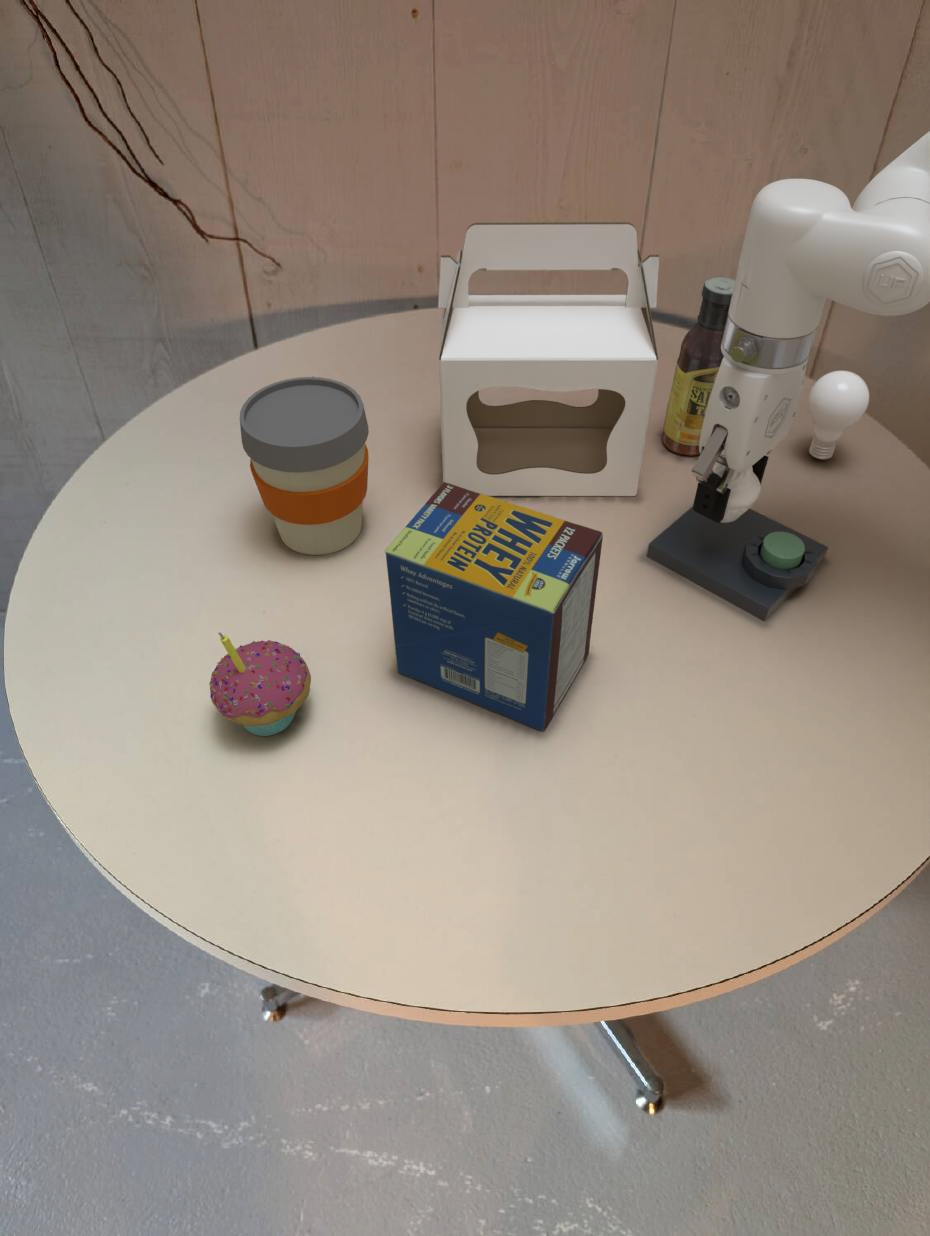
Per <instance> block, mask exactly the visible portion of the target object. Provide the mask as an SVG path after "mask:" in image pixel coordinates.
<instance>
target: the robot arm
mask: <svg viewBox="0 0 930 1236" xmlns="http://www.w3.org/2000/svg"><path fill="white" fill-rule="evenodd" d="M734 280H735V284H734V289H733V293H732V297H731V302H730V307H729V311H728V316H727V320H726V325H725V329H724V334H723V339H722V343H721V351H722V353H723V355H724V358H723V359H722V362H721V365H720V368H719V371H718V374H717V377H716V380H715V383H714V386H713V389H712V392H711V396H710V399H709V403H708V406H707V410H706V413H705V417H704V421H703V426H702V430H701V435H700V442H699V451H700V455H698V456H699V457H698V458H697V459H696V462H695V463H694V465H693V466H692V469H691V471H690V473H691V475H693V476H694V477H695V479H696V482H697V486H696V490H695V495H694V500H693V504H692V507H693V510H694V511H695V512H697V513H699V514H701V515H703V516H705V517H707V518H709V519H711V520H712V521H714V522H716V523H720V522H721V521H722V520H723V518H724V514H725V511H726V507H727V503H728V499H729V495H730V491H731V489H729V488H727V487H728V485H729V483H730V480H731V478H732V476H733V473H734V471H736V472H742V471H745V470H747V469H748V468H750V467H751V466H752V468H753V472H754V474H755V475H756V476H757V478H758V479H759V482H760V485H761V486H762V482H763V479H764V478H763V477H764V475H765V471H766V468H767V465H768V461H769V456H768V455H769V454H770V453H771V452H772V450H773V449H774V448H775V447H776V446H777V445H778V444H779V443H780V442H782V441H783V440H784V439H785V438H786V437H787V436H788V434H789V433H790V431H791V430H792V428H793V424H794V421H795V417H796V414H797V409H798V405H799V401H800V398H801V394H802V390H803V385H804V382H805V381H804V380H805V376H806V370H807V365H808V361H809V358H810V356H811V351H812V348H813V345H814V341H815V338H816V335H817V332H818V328H819V325H820V321H821V318H822V314H823V312H824V309H825V305H826V301H827V300H829V301H833V302H835V303H839V304H841V305H844V306H845V307H846V306H847V307H849V308H852V309H854V310H858V311H861V312H864V313H867V314H871V315H876V316H881V317H899V316H904V315H908V314H911V313H914V312H916V311H918V310H920V309H922V308H924V307H925V306H927V305H928V304H929V303H930V130H929V131H928V132H927V133H925V134H923V136H921V137H920V138H919V139H918V140H917V141H915V142H914V143H913V144H912V145H910V147H908V148H907V149H906V150H904V151H903V152H902V153H900V154H899V155H898V156H897V157H896V158H895V159H893V160H892V161H891V162H890V163H889V164H887V165H886V166H885V167H884V168H883V169H882V170H880V172H878V173H877V174H876V175H875V176H874V177H873V178H872V179H871V180H870V181H869V182H868V183H867V184H866V185H865V186H864V188H863V189H862V191H861V192H860V193H859V195H858V196H857V198H856V199H855V201H854V203H853V205H851V203H850V200H849V198H848V196H847V194H845V192H844V191H842V190H841V189H840V188H838V187H837V186H835V185H833V184H830V183H827V182H824V181H820V180H816V179H810V178H785V179H780V180H775V181H773V182H771V183H768V184H766V185H765V186H763V188H761V190H759V192H757V194H756V196H754V200H753V202H752V203H751V208H750V211H749V215H748V220H747V225H746V229H745V234H744V237H743V243H742V248H741V252H740V257H739V261H738V265H737V271H736V275H735V279H734ZM723 451H724V452H725V453H724V454H722V453H723ZM725 455H726V456H725ZM717 462H718V463H720V464H722V465H724V466H726V468H725V470H724V473H723V475H722V477H720V476H719V475H718V474H716V473H714V471H713V466H714V464H716V463H717Z"/></svg>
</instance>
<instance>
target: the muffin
mask: <svg viewBox="0 0 930 1236" xmlns="http://www.w3.org/2000/svg"><path fill="white" fill-rule="evenodd" d="M724 455H725V456H726V454H724ZM725 468H726V466H724V465H722V464H720V463H718V462H716V463H715V464H714V466H713V471H714V473H716V474H718V475H719V476H720V477H722V475H723V473H724V470H725ZM761 486H762V484H761V485H760V482H759V479H758V478H757V476H756V475H755V474H754V472H753V468H752V466H751V467H750V468H748V469H747V470H745V471H742V472H736V471H734V473H733V476H732V478H731V480H730V483H729V485H728V487H727V488H729V489H731V491H730V495H729V499H728V503H727V507H726V511H725V514H724V518H723V520H722V521H721V522H722V523H727V522H728V523H729V522H733V521H735V520H736V519H737V518H739V517H740V516H741V515H742V514H743V513H745V512H746V511H747V510H748V509H749V508H750V509H751V508H752V507H753V506H754V504H755V502H756V501H757V500H758V498H759V497H760V495H761V490H762V488H761Z"/></svg>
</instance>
